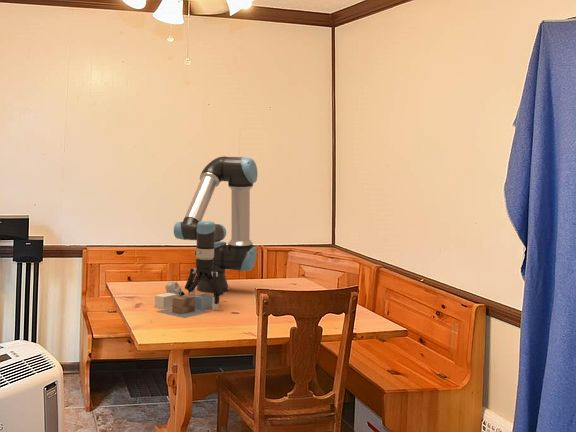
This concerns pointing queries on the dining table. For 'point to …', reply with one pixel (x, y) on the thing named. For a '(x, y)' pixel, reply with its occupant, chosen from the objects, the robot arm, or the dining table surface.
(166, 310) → the build board
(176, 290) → the toy
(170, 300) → the brick
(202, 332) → the dining table surface
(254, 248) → the robot arm
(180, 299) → the brick base
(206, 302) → the brick top
